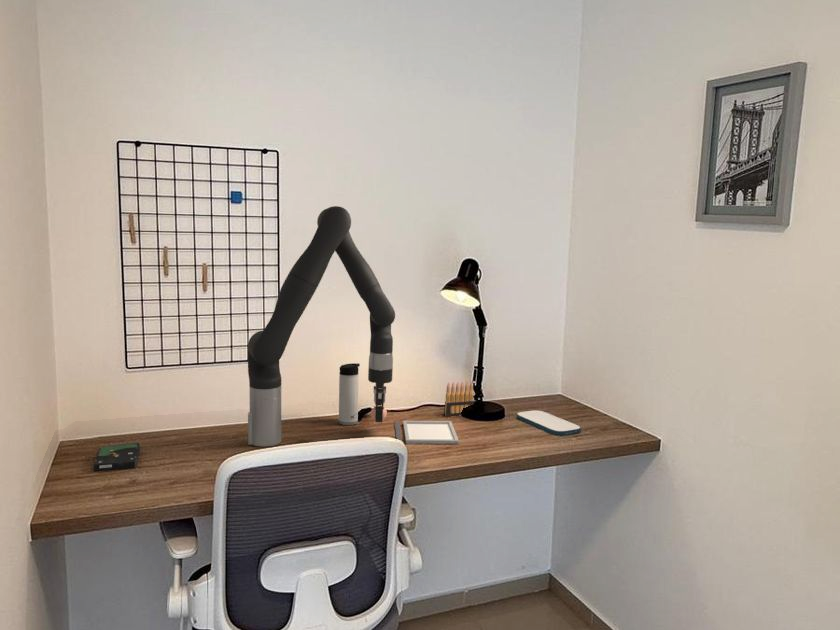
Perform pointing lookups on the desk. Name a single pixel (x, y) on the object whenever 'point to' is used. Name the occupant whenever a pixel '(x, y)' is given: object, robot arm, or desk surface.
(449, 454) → the desk surface
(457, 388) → the ammunition clip
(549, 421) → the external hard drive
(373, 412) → the rubber ball
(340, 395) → the travel mug
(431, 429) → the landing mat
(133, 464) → the disk drive
